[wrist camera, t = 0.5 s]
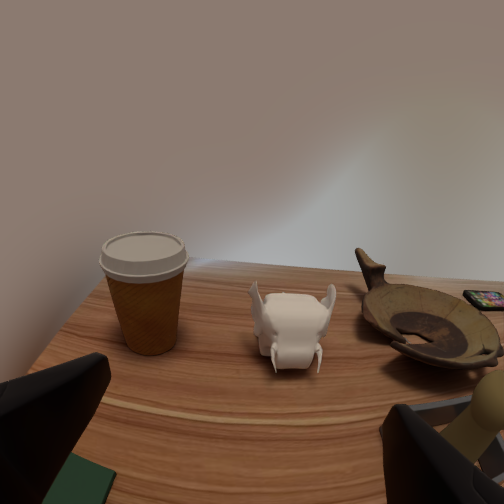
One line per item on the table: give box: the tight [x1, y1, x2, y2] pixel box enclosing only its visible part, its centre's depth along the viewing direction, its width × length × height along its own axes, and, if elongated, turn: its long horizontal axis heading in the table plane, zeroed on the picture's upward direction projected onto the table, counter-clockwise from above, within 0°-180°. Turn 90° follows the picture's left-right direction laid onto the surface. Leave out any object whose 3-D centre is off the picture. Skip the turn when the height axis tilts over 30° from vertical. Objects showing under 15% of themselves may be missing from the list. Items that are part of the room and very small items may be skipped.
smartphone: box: [463, 290, 504, 310], centre depth 46 cm, size 8×1×15 cm
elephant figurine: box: [248, 281, 336, 373], centre depth 30 cm, size 10×12×9 cm
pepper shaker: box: [439, 370, 504, 464], centre depth 14 cm, size 6×6×11 cm
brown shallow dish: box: [355, 248, 504, 369], centre depth 36 cm, size 22×30×8 cm
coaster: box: [42, 452, 116, 504], centre depth 11 cm, size 9×9×1 cm
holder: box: [380, 395, 504, 485], centre depth 15 cm, size 12×12×4 cm
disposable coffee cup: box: [99, 231, 189, 355], centre depth 29 cm, size 10×10×12 cm
